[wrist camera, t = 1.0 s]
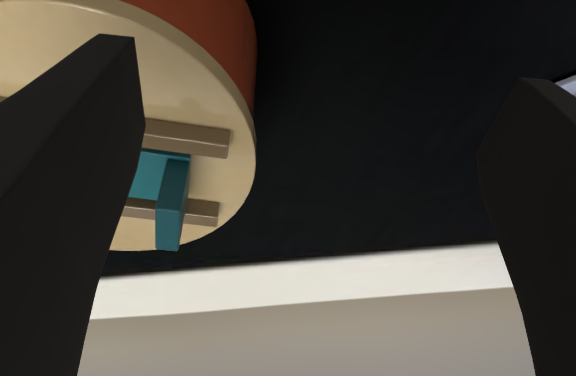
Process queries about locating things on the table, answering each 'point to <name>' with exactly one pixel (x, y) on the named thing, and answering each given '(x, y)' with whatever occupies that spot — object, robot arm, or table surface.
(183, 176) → the slider
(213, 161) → the brown and beige cylinder
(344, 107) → the table surface
